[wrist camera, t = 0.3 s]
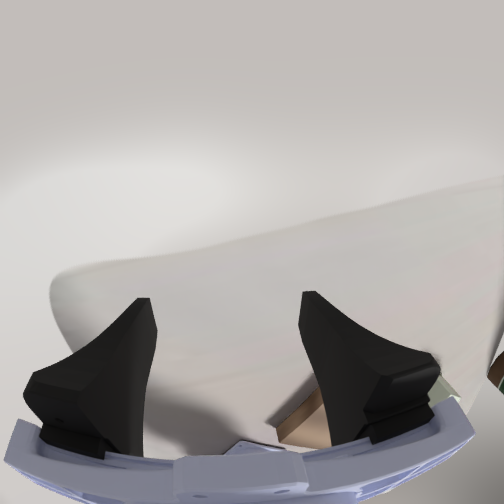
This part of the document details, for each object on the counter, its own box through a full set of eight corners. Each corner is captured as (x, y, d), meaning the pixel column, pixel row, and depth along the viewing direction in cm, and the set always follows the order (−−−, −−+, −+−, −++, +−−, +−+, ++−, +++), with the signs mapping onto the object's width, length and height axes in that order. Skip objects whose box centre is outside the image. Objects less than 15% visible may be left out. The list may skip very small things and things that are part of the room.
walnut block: (337, 437, 33) (343, 451, 30) (275, 425, 30) (279, 442, 28) (392, 385, 31) (402, 399, 28) (335, 365, 28) (344, 382, 25)
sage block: (421, 399, 33) (438, 422, 27) (407, 395, 32) (425, 420, 26) (441, 375, 32) (461, 398, 26) (429, 370, 31) (450, 394, 25)
